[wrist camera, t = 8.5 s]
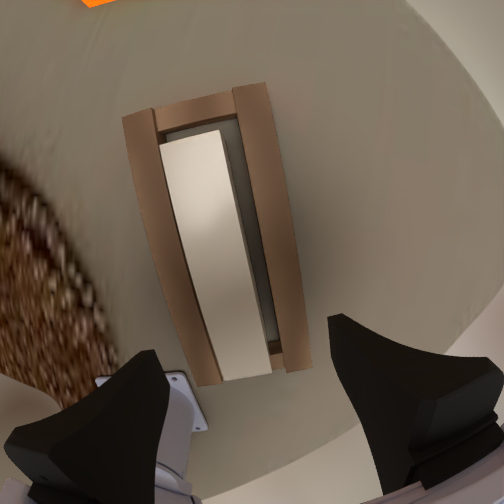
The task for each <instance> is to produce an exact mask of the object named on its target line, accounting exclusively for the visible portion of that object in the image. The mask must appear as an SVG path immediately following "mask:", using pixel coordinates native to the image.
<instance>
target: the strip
mask: <svg viewBox="0 0 504 504" xmlns="http://www.w3.org/2000/svg"><path fill="white" fill-rule="evenodd" d="M159 146H160V151H161V156H162V161H163V165H164V170H165V175H166V179H167V183H168V188H169V192H170V196H171V201H172V205H173V209H174V213H175V217H176V221H177V225H178V229H179V233H180V237H181V240H182V244H183V248H184V252H185V255H186V259H187V263H188V266H189V270H190V273H191V277H192V280H193V284H194V287H195V291H196V294H197V298H198V301H199V304H200V307H201V311H202V314H203V317H204V320H205V324H206V327H207V330H208V333H209V336H210V339H211V342H212V345H213V348H214V351H215V354H216V357H217V360H218V363H219V366H220V369H221V372H222V375H223V378H224V381H227V380H234V379H240V378H246V377H252V376H258V375H263V374H269V373H272V368H271V361H270V355H269V348H268V342H267V335H266V329H265V323H264V319H263V314H262V309H261V305H260V300H259V295H258V291H257V286H256V282H255V277H254V272H253V268H252V263H251V258H250V254H249V249H248V244H247V240H246V235H245V230H244V226H243V221H242V216H241V212H240V207H239V202H238V198H237V193H236V188H235V184H234V179H233V174H232V170H231V165H230V160H229V155H228V151H227V146H226V141H225V139H224V138H223V136H222V134H221V132H220V130H216V131H212V132H208V133H203V134H199V135H195V136H191V137H187V138H183V139H180V140H176V141H172V142H169V143H165V144H162V145H159Z"/></svg>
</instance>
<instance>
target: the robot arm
mask: <svg viewBox="0 0 504 504" xmlns="http://www.w3.org/2000/svg"><path fill="white" fill-rule="evenodd" d="M327 319H328V329H329V339H330V350H331V358H332V361H333V364H334V367H335V370H336V372H337V375H338V377H339V379H340V381H341V383H342V385H343V387H344V389H345V391H346V393H347V395H348V397H349V399H350V401H351V403H352V405H353V407H354V409H355V411H356V413H357V415H358V417H359V419H360V421H361V424H362V426H363V429H364V432H365V435H366V438H367V441H368V444H369V446H370V449H371V452H372V456H373V459H374V463H375V465H376V469H377V473H378V477H379V480H380V484H381V488H382V492H383V496H382V497H379V498H376V499H373V500H370V501H367V502H364V503H361V504H504V423H503V424H502V425H501V427H499V425H498V424H497V423H496V421H497V419H498V415H497V414H496V413H495V412H494V410H493V409H494V407H495V405H496V403H497V401H498V398H499V396H500V394H501V391H502V388H503V385H504V374H503V372H502V371H501V370H500V369H499V368H498V367H497V366H496V365H495V364H494V363H493V362H492V361H491V360H490V359H489V358H487V357H457V356H448V355H441V354H435V353H430V352H426V351H421V350H418V349H414V348H411V347H408V346H405V345H402V344H399V343H397V342H394V341H392V340H390V339H388V338H385V337H383V336H381V335H379V334H377V333H375V332H373V331H371V330H370V329H368V328H366V327H364V326H362V325H361V324H359V323H357V322H356V321H354V320H352V319H351V318H349V317H347V316H346V315H344V314H342V313H341V314H337V315H333V316H330V317H327ZM173 377H176V379H175V378H173ZM95 382H96V384H97V386H98V388H97V389H96V390H94V391H93V392H92V393H90V394H89V395H88V396H86V397H85V398H83V399H82V400H80V401H78V402H77V403H75V404H73V405H72V406H70V407H68V408H66V409H64V410H62V411H61V412H59V413H57V414H54V415H52V416H50V417H47V418H45V419H42V420H40V421H37V422H33V423H30V424H27V425H23V426H19V427H16V428H15V429H14V430H13V431H12V433H11V434H10V436H9V437H8V439H7V441H6V442H5V444H4V450H5V452H6V454H7V455H8V457H9V458H10V459H11V461H12V462H13V463H14V464H15V465H16V466H17V467H18V468H19V469H20V470H21V471H22V472H23V473H24V474H25V475H26V476H27V477H28V478H29V479H30V480H32V482H33V484H32V486H31V487H30V486H28V485H27V484H25V483H23V482H21V481H19V480H16V479H14V478H12V477H8V479H7V480H6V482H5V484H4V486H3V488H2V490H1V492H0V504H202V502H201V500H200V498H199V497H197V496H195V495H191V492H192V483H189V482H186V481H185V479H186V472H187V464H188V457H189V450H190V443H191V436H192V432H195V431H206V430H207V429H208V425H207V422H206V420H205V418H204V416H203V414H202V412H201V410H200V407H199V405H198V403H197V401H196V398H195V396H194V394H193V392H192V389H191V387H190V385H189V382H188V380H187V377H186V375H185V374H184V373H182V372H173V373H164V371H163V369H162V366H161V364H160V362H159V360H158V357H157V355H156V353H155V351H154V349H153V350H145V351H141V352H139V353H138V354H136V355H135V356H134V357H133V358H132V359H131V360H129V361H128V362H127V363H126V364H125V365H124V366H123V367H122V368H120V369H119V370H118V371H117V372H116V373H115V374H114V375H113V376H111V377H97V378H96V380H95Z"/></svg>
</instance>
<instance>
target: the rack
mask: <svg viewBox="0 0 504 504" xmlns="http://www.w3.org/2000/svg"><path fill="white" fill-rule="evenodd" d="M233 118H237V119H238V124H239V129H240V134H241V139H242V144H243V149H244V154H245V159H246V164H247V169H248V174H249V179H250V184H251V189H252V194H253V199H254V204H255V209H256V215H257V220H258V225H259V230H260V235H261V241H262V246H263V251H264V256H265V262H266V267H267V272H268V278H269V283H270V288H271V294H272V299H273V305H274V310H275V315H276V321H277V326H278V332H279V337H280V340H278V341H273V342H268V348H269V355H270V361H271V368H272V370H276V369H281V368H286V373H289V372H294V371H299V370H304V369H308V368H312V360H311V351H310V343H309V334H308V326H307V318H306V311H305V303H304V296H303V288H302V281H301V274H300V267H299V261H298V254H297V248H296V241H295V235H294V229H293V223H292V217H291V211H290V205H289V199H288V193H287V188H286V182H285V177H284V171H283V166H282V160H281V155H280V150H279V145H278V140H277V135H276V130H275V125H274V120H273V115H272V111H271V106H270V101H269V97H268V92H267V88H266V83H265V82H264V83H257V84H251V85H245V86H239V87H234V88H232V91H228V92H223V93H218V94H214V95H209V96H205V97H200V98H196V99H192V100H188V101H184V102H180V103H176V104H173V105H169V106H166V107H162V108H159V109H155V110H154V109H152V108H149V109H146V110H143V111H139V112H136V113H133V114H130V115H128V116H125V117H122V122H123V129H124V134H125V140H126V146H127V151H128V156H129V161H130V166H131V171H132V176H133V181H134V185H135V190H136V194H137V198H138V203H139V207H140V211H141V215H142V219H143V223H144V227H145V231H146V235H147V238H148V242H149V246H150V249H151V253H152V256H153V260H154V263H155V267H156V270H157V273H158V277H159V280H160V283H161V286H162V290H163V293H164V296H165V299H166V302H167V305H168V308H169V311H170V314H171V317H172V320H173V323H174V326H175V329H176V331H177V334H178V337H179V340H180V343H181V345H182V348H183V351H184V353H185V356H186V359H187V361H188V364H189V366H190V369H191V371H192V374H193V376H194V379H195V381H196V384H197V386H198V387H199V386H208V385H216V384H222V381H223V375H222V372H221V369H220V366H219V363H218V360H217V357H216V354H215V351H214V348H213V345H212V342H211V339H210V336H209V333H208V330H207V327H206V324H205V320H204V317H203V314H202V311H201V307H200V304H199V301H198V298H197V294H196V291H195V287H194V284H193V280H192V277H191V273H190V270H189V266H188V263H187V259H186V255H185V252H184V248H183V244H182V240H181V237H180V233H179V229H178V225H177V221H176V217H175V213H174V209H173V205H172V201H171V196H170V192H169V188H168V183H167V179H166V175H165V170H164V165H163V161H162V156H161V151H160V146H159V145H162V144H165V143H167V141H166V136H165V134H169V133H172V132H176V131H180V130H184V129H188V128H192V127H196V126H200V125H204V124H209V123H213V122H218V121H223V120H228V119H233Z"/></svg>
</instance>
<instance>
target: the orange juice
mask: <svg viewBox="0 0 504 504" xmlns="http://www.w3.org/2000/svg"><path fill="white" fill-rule="evenodd" d="M82 1H83V2H84V3H85V4H86V5H87V6H88V7H89V8H90V7H93V6H97V5H100V4H103V3H107V2H110V1H114V0H82Z"/></svg>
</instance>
